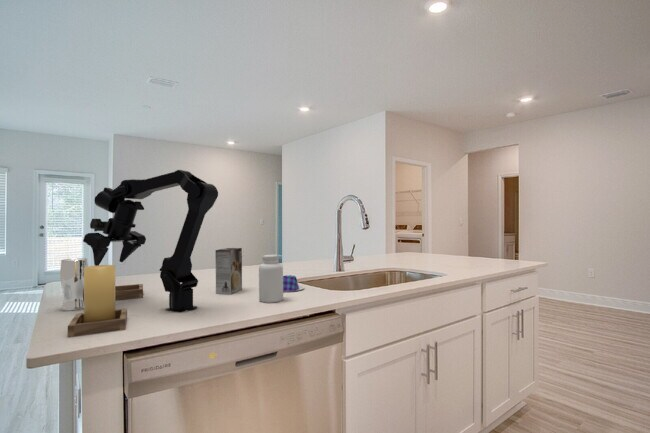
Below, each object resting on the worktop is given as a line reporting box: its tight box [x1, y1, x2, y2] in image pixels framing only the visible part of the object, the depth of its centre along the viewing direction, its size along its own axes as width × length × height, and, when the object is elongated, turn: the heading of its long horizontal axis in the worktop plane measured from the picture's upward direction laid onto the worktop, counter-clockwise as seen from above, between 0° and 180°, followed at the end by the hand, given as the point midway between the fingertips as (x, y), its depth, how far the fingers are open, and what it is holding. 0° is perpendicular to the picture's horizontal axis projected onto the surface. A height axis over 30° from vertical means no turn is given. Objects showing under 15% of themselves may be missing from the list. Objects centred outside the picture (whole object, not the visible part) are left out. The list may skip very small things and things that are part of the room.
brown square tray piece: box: [67, 308, 128, 338], centre depth 86 cm, size 11×11×3 cm
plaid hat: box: [283, 274, 305, 293], centre depth 132 cm, size 12×12×5 cm
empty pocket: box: [115, 283, 144, 301], centre depth 121 cm, size 11×11×3 cm
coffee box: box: [215, 247, 243, 295], centre depth 128 cm, size 9×6×16 cm
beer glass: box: [59, 257, 89, 312], centre depth 106 cm, size 7×7×15 cm
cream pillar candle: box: [83, 264, 116, 323], centre depth 86 cm, size 7×7×15 cm
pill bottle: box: [258, 254, 284, 304], centre depth 114 cm, size 8×8×15 cm
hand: (109, 263), depth 110 cm, fingers open, 9 cm apart
